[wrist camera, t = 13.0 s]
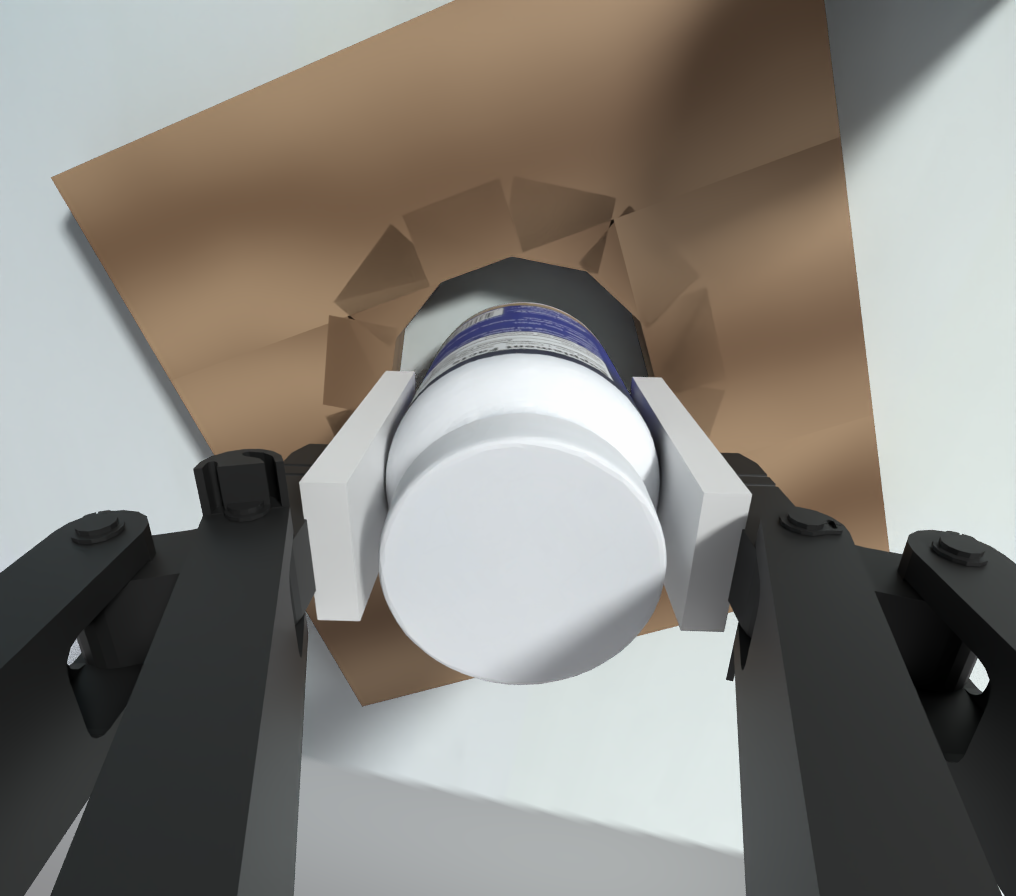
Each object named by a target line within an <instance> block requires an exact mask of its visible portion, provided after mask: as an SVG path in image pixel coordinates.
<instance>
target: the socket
mask: <svg viewBox="0 0 1016 896" xmlns="http://www.w3.org/2000/svg"><path fill="white" fill-rule="evenodd" d="M51 179H52V180H53V182H54V184H55V185H56V187H57V189H58V190H59V192H60V194H61V196H62V197H63V199H64V201H65V202H66V204H67V206H68V207H69V209H70V211H71V213H72V214H73V216H74V218H75V219H76V221H77V223H78V224H79V226H80V228H81V229H82V231H83V233H84V235H85V236H86V238H87V240H88V241H89V243H90V245H91V246H92V248H93V250H94V252H95V253H96V255H97V257H98V258H99V260H100V262H101V263H102V265H103V267H104V269H105V270H106V272H107V274H108V275H109V277H110V279H111V280H112V282H113V284H114V286H115V287H116V289H117V291H118V292H119V294H120V296H121V297H122V299H123V301H124V303H125V304H126V306H127V308H128V309H129V311H130V313H131V314H132V316H133V318H134V320H135V321H136V323H137V325H138V326H139V328H140V330H141V331H142V333H143V335H144V337H145V338H146V340H147V342H148V343H149V345H150V347H151V348H152V350H153V352H154V354H155V355H156V357H157V359H158V360H159V362H160V364H161V365H162V367H163V369H164V371H165V372H166V374H167V376H168V377H169V379H170V381H171V382H172V384H173V386H174V387H175V389H176V391H177V393H178V394H179V396H180V398H181V399H182V401H183V403H184V404H185V406H186V408H187V410H188V411H189V413H190V415H191V416H192V418H193V420H194V421H195V423H196V425H197V427H198V428H199V430H200V432H201V433H202V435H203V437H204V438H205V440H206V442H207V444H208V445H209V447H210V449H211V450H212V452H213V454H214V455H218V454H221V453H224V452H228V451H234V450H241V449H265V450H271V451H274V452H276V453H278V454H280V455H282V458H283V461H284V460H285V459H286V458H287V457H288V456H289V455H290V454H291V453H292V452H294V451H296V450H298V449H300V448H302V447H304V446H306V445H308V444H329V443H330V442H331V441H332V440H333V438H334V437H335V436H336V434H337V433H338V432H339V431H340V429H341V428H342V427H343V425H344V424H345V423H346V422H347V420H348V419H349V418H350V416H351V415H352V414H353V413H354V411H355V410H356V409H357V407H358V406H359V405H360V404H361V402H362V401H363V400H364V398H365V397H366V396H367V395H368V393H369V392H370V391H371V389H372V388H373V387H374V386H375V384H376V383H377V382H378V380H379V379H380V378H381V377H382V375H383V374H384V373H385V372H386V371H400V366H401V358H402V350H403V341H404V333H405V328H406V327H407V326H408V324H409V323H410V322H411V320H412V319H413V318H414V317H415V315H416V314H417V313H418V312H419V310H420V309H421V308H422V307H423V305H424V304H425V303H426V302H427V300H428V299H429V298H430V297H431V295H432V294H433V293H434V291H435V290H436V289H437V288H438V286H439V285H440V284H441V283H442V282H443V281H446V280H448V279H451V278H454V277H457V276H459V275H462V274H465V273H468V272H470V271H473V270H476V269H479V268H481V267H484V266H487V265H490V264H492V263H495V262H498V261H501V260H503V259H506V258H509V257H517V258H522V259H527V260H532V261H537V262H542V263H547V264H552V265H557V266H562V267H567V268H572V269H577V270H582V271H587V272H588V273H589V274H590V275H591V276H592V277H593V278H594V279H595V280H596V281H597V282H599V283H600V284H601V285H602V286H603V287H604V288H605V289H606V290H607V291H608V292H609V293H610V294H611V295H612V296H613V297H615V298H616V299H617V300H618V301H619V302H620V303H621V304H622V305H623V306H624V307H625V308H626V309H627V310H628V311H629V312H631V313H632V316H633V320H634V324H635V328H636V332H637V335H638V339H639V343H640V347H641V350H642V354H643V358H644V362H645V365H646V369H647V373H648V377H660V378H662V379H663V380H664V381H665V383H666V384H667V385H668V387H669V388H670V389H671V390H672V392H673V393H674V394H675V396H676V397H677V398H678V399H679V401H680V402H681V403H682V405H683V406H684V407H685V408H686V410H687V411H688V412H689V414H690V415H691V416H692V418H693V419H694V420H695V421H696V423H697V424H698V425H699V427H700V428H701V429H702V430H703V432H704V433H705V434H706V436H707V437H708V438H709V439H710V441H711V442H712V443H713V445H714V446H715V447H716V448H717V450H718V451H719V452H720V453H740V454H741V455H743V456H745V457H747V458H749V459H750V460H752V461H754V462H756V463H757V464H758V465H759V466H760V467H761V468H762V469H763V470H764V472H765V473H766V474H767V477H770V478H771V479H772V481H773V482H774V483H775V484H776V487H779V488H780V490H781V491H782V492H783V493H784V494H785V495H786V496H787V497H788V499H789V500H790V501H791V502H792V503H793V504H794V505H795V506H796V507H802V508H806V509H811V510H815V511H818V512H820V513H823V514H825V515H828V516H830V517H832V518H834V519H835V520H837V521H839V522H840V523H842V524H843V525H844V526H845V527H846V529H847V530H848V531H849V532H850V534H851V537H852V539H853V541H854V544H855V545H858V546H862V547H866V548H871V549H877V550H882V551H887V552H889V544H888V536H887V527H886V519H885V510H884V502H883V493H882V485H881V476H880V468H879V459H878V451H877V443H876V434H875V426H874V417H873V409H872V400H871V392H870V383H869V375H868V366H867V358H866V349H865V341H864V333H863V324H862V316H861V307H860V299H859V290H858V282H857V273H856V265H855V256H854V248H853V239H852V231H851V222H850V214H849V206H848V197H847V189H846V180H845V172H844V163H843V155H842V146H841V138H840V129H839V121H838V112H837V104H836V96H835V87H834V79H833V70H832V62H831V53H830V45H829V36H828V28H827V19H826V11H825V2H824V0H455V1H452V2H450V3H448V4H445V5H443V6H441V7H439V8H436V9H434V10H432V11H429V12H427V13H425V14H423V15H420V16H418V17H416V18H414V19H411V20H409V21H407V22H404V23H402V24H400V25H398V26H395V27H393V28H391V29H388V30H386V31H384V32H382V33H379V34H377V35H375V36H372V37H370V38H368V39H366V40H363V41H361V42H359V43H357V44H354V45H352V46H350V47H347V48H345V49H343V50H341V51H338V52H336V53H334V54H331V55H329V56H327V57H325V58H322V59H320V60H318V61H315V62H313V63H311V64H309V65H306V66H304V67H302V68H300V69H297V70H295V71H293V72H290V73H288V74H286V75H284V76H281V77H279V78H277V79H274V80H272V81H270V82H268V83H265V84H263V85H261V86H258V87H256V88H254V89H252V90H249V91H247V92H245V93H243V94H240V95H238V96H236V97H233V98H231V99H229V100H227V101H224V102H222V103H220V104H217V105H215V106H213V107H211V108H208V109H206V110H204V111H201V112H199V113H197V114H195V115H192V116H190V117H188V118H186V119H183V120H181V121H179V122H176V123H174V124H172V125H170V126H167V127H165V128H163V129H160V130H158V131H156V132H154V133H151V134H149V135H147V136H144V137H142V138H140V139H138V140H135V141H133V142H131V143H129V144H126V145H124V146H122V147H119V148H117V149H115V150H113V151H110V152H108V153H106V154H103V155H101V156H99V157H97V158H94V159H92V160H90V161H87V162H85V163H83V164H81V165H78V166H76V167H74V168H72V169H69V170H67V171H65V172H62V173H60V174H58V175H56V176H53V177H51ZM306 612H307V613H308V615H309V617H310V619H311V620H312V622H313V624H314V625H315V627H316V629H317V630H318V632H319V634H320V636H321V637H322V639H323V641H324V642H325V644H326V646H327V647H328V649H329V651H330V653H331V654H332V656H333V658H334V659H335V661H336V663H337V664H338V666H339V668H340V670H341V671H342V673H343V675H344V676H345V678H346V680H347V681H348V683H349V685H350V686H351V688H352V690H353V692H354V693H355V695H356V697H357V698H358V700H359V702H360V703H361V705H362V706H366V705H370V704H374V703H378V702H382V701H386V700H389V699H393V698H397V697H401V696H405V695H409V694H413V693H417V692H421V691H425V690H429V689H432V688H436V687H440V686H444V685H448V684H452V683H456V682H460V681H464V680H468V679H472V678H474V677H471V676H468V675H465V674H462V673H460V672H458V671H456V670H453V669H451V668H449V667H447V666H445V665H443V664H441V663H440V662H438V661H436V660H435V659H434V658H432V657H431V656H429V655H428V654H427V653H425V652H424V651H423V650H422V649H420V648H419V647H418V646H417V645H416V644H415V643H414V642H413V641H412V640H411V639H410V638H409V637H408V636H407V635H406V634H405V633H404V631H403V630H402V628H401V627H400V626H399V624H398V623H397V621H396V619H395V618H394V616H393V615H392V613H391V611H390V609H389V607H388V604H387V602H386V600H385V597H384V594H383V591H382V587H381V583H380V578H379V573H378V575H377V578H376V581H375V583H374V586H373V588H372V591H371V594H370V596H369V599H368V602H367V604H366V607H365V610H364V612H363V615H362V617H361V620H360V621H336V620H318V619H317V612H316V604H315V597H314V596H313V597H312V599H311V601H310V603H309V605H308V607H307V609H306ZM730 612H734V611H733V609H732V608H731V606H730V605H729V610H728V613H730ZM675 626H679V624H678V621H677V619H676V616H675V613H674V611H673V608H672V605H671V602H670V600H669V597H668V594H667V591H666V589H665V586H664V585H663V589H662V592H661V596H660V599H659V601H658V603H657V605H656V608H655V611H654V613H653V614H652V616H651V618H650V619H649V621H648V623H647V624H646V625H645V627H644V628H643V629H642V630H641V632H640V633H639V634H638V635H637V636H640V635H644V634H648V633H651V632H655V631H659V630H663V629H667V628H671V627H675Z"/></svg>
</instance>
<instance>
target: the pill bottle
mask: <svg viewBox="0 0 1016 896" xmlns="http://www.w3.org/2000/svg"><path fill="white" fill-rule="evenodd" d="M659 491H660V471H659V463H658V458H657V453H656V449H655V446H654V442H653V439H652V436H651V434H650V431H649V428H648V426H647V424H646V422H645V421H644V419H643V417H642V416H641V414H640V412H639V410H638V408H637V406H636V405H635V403H634V401H633V399H632V398H631V396H630V394H629V392H628V391H627V389H626V387H625V385H624V383H623V381H622V380H621V378H620V376H619V374H618V373H617V371H616V369H615V367H614V365H613V363H612V362H611V360H610V358H609V357H608V355H607V353H606V351H605V349H604V348H603V346H602V345H601V343H600V342H599V340H598V339H597V338H596V337H595V335H594V334H593V333H592V332H591V331H590V330H589V329H588V328H587V327H586V326H585V325H584V324H583V323H581V322H580V321H579V320H577V319H576V318H574V317H573V316H571V315H569V314H568V313H566V312H564V311H561V310H559V309H557V308H554V307H551V306H548V305H544V304H539V303H530V302H515V303H506V304H501V305H497V306H493V307H490V308H488V309H485V310H483V311H481V312H479V313H477V314H475V315H473V316H472V317H470V318H469V319H467V320H466V321H465V322H463V323H462V324H461V325H460V326H459V327H458V328H457V329H456V330H455V331H454V332H453V333H452V334H451V335H450V336H449V337H448V338H447V340H446V341H445V342H444V343H443V345H442V347H441V348H440V350H439V351H438V353H437V355H436V357H435V359H434V361H433V362H432V364H431V366H430V368H429V370H428V372H427V374H426V376H425V378H424V380H423V382H422V384H421V385H420V387H419V389H418V390H417V392H416V394H415V396H414V398H413V400H412V402H411V404H410V405H409V407H408V409H407V411H406V412H405V414H404V416H403V418H402V420H401V422H400V423H399V426H398V428H397V430H396V433H395V435H394V438H393V441H392V444H391V448H390V451H389V456H388V461H387V468H386V496H387V502H388V508H389V511H388V514H387V517H386V520H385V522H384V526H383V529H382V532H381V537H380V541H379V551H378V568H379V578H380V583H381V587H382V591H383V594H384V597H385V600H386V602H387V604H388V607H389V609H390V611H391V613H392V615H393V616H394V618H395V619H396V621H397V623H398V624H399V626H400V627H401V628H402V630H403V631H404V633H405V634H406V635H407V636H408V637H409V638H410V639H411V640H412V641H413V642H414V643H415V644H416V645H417V646H418V647H419V648H420V649H422V650H423V651H424V652H425V653H427V654H428V655H429V656H431V657H432V658H434V659H435V660H436V661H438V662H440V663H441V664H443V665H445V666H447V667H449V668H451V669H453V670H456V671H458V672H460V673H462V674H465V675H468V676H471V677H474V678H478V679H481V680H485V681H489V682H494V683H502V684H513V685H527V684H542V683H548V682H553V681H559V680H563V679H566V678H570V677H574V676H577V675H580V674H582V673H585V672H587V671H589V670H592V669H594V668H595V667H597V666H599V665H601V664H603V663H604V662H606V661H607V660H609V659H611V658H612V657H614V656H615V655H616V654H618V653H619V652H621V651H622V650H623V649H624V648H625V647H626V646H628V645H629V644H630V643H631V642H632V641H633V639H634V638H635V637H636V636H637V635H638V634H639V633H640V632H641V630H642V629H643V628H644V627H645V625H646V624H647V623H648V621H649V619H650V618H651V616H652V614H653V613H654V611H655V608H656V605H657V603H658V601H659V599H660V596H661V592H662V589H663V585H664V580H665V574H666V565H667V563H666V546H665V539H664V535H663V531H662V527H661V524H660V521H659V519H658V516H657V513H656V511H657V507H658V501H659Z"/></svg>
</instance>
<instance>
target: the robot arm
mask: <svg viewBox="0 0 1016 896" xmlns="http://www.w3.org/2000/svg"><path fill="white" fill-rule="evenodd" d="M415 394H416V386H415V371H386V372H385V373H384V374H383V375H382V377H381V378H380V379H379V380H378V382H377V383H376V384H375V386H374V387H373V388H372V389H371V391H370V392H369V393H368V395H367V396H366V397H365V398H364V400H363V401H362V402H361V404H360V405H359V406H358V407H357V409H356V410H355V411H354V413H353V414H352V415H351V416H350V418H349V419H348V420H347V422H346V423H345V424H344V425H343V427H342V428H341V429H340V431H339V432H338V433H337V434H336V436H335V437H334V438H333V440H332V441H331V442H330V443H329V444H308V445H306V446H304V447H302V448H300V449H298V450H296V451H294V452H292V453H291V454H290V455H289V456H288V457H287V458H286V459H285V460H284V461H283V458H282V455H280V454H278V453H276V452H274V451H271V450H265V449H241V450H234V451H228V452H224V453H221V454H218V455H214V456H211V457H209V458H207V459H205V460H203V461H201V462H200V463H199V464H198V465H197V466H196V467H195V468H194V469H193V470H194V475H195V480H196V484H197V489H198V494H199V499H200V503H201V508H202V513H203V517H202V520H201V522H200V524H199V527H198V529H194V530H188V531H181V532H174V533H167V534H160V535H151V531H150V527H149V523H148V519H147V516H145V515H143V514H141V513H139V512H135V511H126V510H120V511H110V510H106V511H100V512H98V514H96V512H95V513H92V514H88V515H85V516H83V518H80V519H78V520H75V521H73V522H70V523H68V524H66V525H64V526H63V527H61V528H59V529H58V530H56V531H54V532H53V533H52V534H50V535H49V536H48V537H47V538H45V539H44V540H43V541H41V542H40V543H39V544H37V545H36V546H35V547H34V548H32V549H31V550H30V551H28V552H27V553H26V554H24V555H23V556H22V557H20V558H19V559H18V560H17V561H15V562H14V563H13V564H11V565H10V566H9V567H7V568H6V569H5V570H4V571H2V572H1V573H0V896H24V895H25V893H26V892H27V890H28V889H29V887H30V886H31V884H32V883H33V881H34V880H35V878H36V877H37V875H38V874H39V872H40V871H41V869H42V868H43V866H44V865H45V863H46V862H47V860H48V859H49V857H50V856H51V854H52V853H53V851H54V850H55V848H56V846H57V845H58V844H59V842H60V841H61V839H62V838H63V836H64V835H65V833H66V832H67V830H68V829H69V827H70V826H71V824H72V823H73V821H74V820H75V818H76V817H77V815H78V814H79V812H80V811H81V809H82V808H83V806H84V805H85V803H86V802H87V800H88V799H89V801H88V803H87V806H86V808H85V811H84V813H83V816H82V818H81V821H80V823H79V826H78V828H77V831H76V833H75V836H74V838H73V841H72V843H71V846H70V848H69V851H68V853H67V856H66V858H65V860H64V863H63V866H62V868H61V870H60V873H59V875H58V878H57V880H56V883H55V885H54V888H53V890H52V893H51V896H294V880H295V862H296V842H297V824H298V806H299V789H300V771H301V753H302V735H303V717H304V699H305V681H306V663H307V644H308V629H307V622H306V615H305V611H306V609H307V607H308V605H309V603H310V601H311V599H312V597H313V596H314V597H315V604H316V612H317V619H318V620H336V621H360V620H361V617H362V615H363V612H364V610H365V607H366V604H367V602H368V599H369V596H370V594H371V591H372V588H373V586H374V583H375V581H376V578H377V575H378V573H379V568H378V551H379V541H380V537H381V532H382V529H383V526H384V522H385V520H386V517H387V514H388V511H389V508H388V502H387V496H386V468H387V461H388V456H389V451H390V448H391V444H392V441H393V438H394V435H395V433H396V430H397V428H398V426H399V423H400V422H401V420H402V418H403V416H404V414H405V412H406V411H407V409H408V407H409V405H410V404H411V402H412V400H413V398H414V396H415ZM630 396H631V398H632V399H633V401H634V403H635V405H636V406H637V408H638V410H639V412H640V414H641V416H642V417H643V419H644V421H645V422H646V424H647V426H648V428H649V431H650V434H651V436H652V439H653V442H654V446H655V449H656V453H657V458H658V463H659V471H660V491H659V501H658V507H657V511H656V513H657V516H658V519H659V521H660V524H661V527H662V531H663V535H664V539H665V546H666V563H667V565H666V574H665V580H664V586H665V589H666V591H667V594H668V597H669V600H670V602H671V605H672V608H673V611H674V613H675V616H676V619H677V621H678V624H679V627H680V630H681V631H711V632H724V629H725V624H726V620H727V615H728V610H729V605H730V606H731V608H732V609H733V611H734V613H735V615H736V617H737V619H738V621H739V622H738V627H737V631H736V636H735V641H734V645H733V650H732V654H731V659H730V664H729V668H728V673H727V678H726V680H729V681H733V679H734V676H735V685H736V704H737V724H738V744H739V764H740V784H741V804H742V824H743V844H744V863H745V883H746V896H1002V895H1001V892H1000V890H999V888H1000V889H1001V891H1002V892H1003V894H1004V895H1005V896H1016V564H1015V563H1014V562H1013V561H1011V560H1010V559H1009V558H1008V557H1006V556H1005V555H1004V554H1002V553H1000V552H999V551H997V550H996V549H994V548H992V547H991V546H989V545H986V544H984V543H982V542H979V541H977V540H976V539H975V538H973V537H971V536H968V535H964V534H962V535H959V533H957V532H952V531H946V532H944V531H936V530H923V531H916V532H914V533H912V534H910V535H909V537H908V540H907V543H906V546H905V549H904V552H903V554H898V553H892V552H887V551H882V550H877V549H871V548H866V547H862V546H858V545H855V544H854V541H853V539H852V537H851V534H850V532H849V531H848V530H847V529H846V527H845V526H844V525H843V524H842V523H840V522H839V521H837V520H835V519H834V518H832V517H830V516H828V515H825V514H823V513H820V512H818V511H815V510H811V509H806V508H802V507H796V506H795V505H794V504H793V503H792V502H791V501H790V500H789V499H788V497H787V496H786V495H785V494H784V493H783V492H782V491H781V490H780V488H779V487H776V484H775V483H774V482H773V481H772V479H771V478H770V477H767V474H766V473H765V472H764V470H763V469H762V468H761V467H760V466H759V465H758V464H757V463H756V462H754V461H752V460H750V459H749V458H747V457H745V456H743V455H741V454H740V453H720V452H719V451H718V450H717V448H716V447H715V446H714V445H713V443H712V442H711V441H710V439H709V438H708V437H707V436H706V434H705V433H704V432H703V430H702V429H701V428H700V427H699V425H698V424H697V423H696V421H695V420H694V419H693V418H692V416H691V415H690V414H689V412H688V411H687V410H686V408H685V407H684V406H683V405H682V403H681V402H680V401H679V399H678V398H677V397H676V396H675V394H674V393H673V392H672V390H671V389H670V388H669V387H668V385H667V384H666V383H665V381H664V380H663V379H662V378H660V377H632V385H631V395H630ZM76 638H77V641H78V643H79V646H80V649H81V652H82V653H81V654H80V656H79V657H78V658H77V659H76V660H75V661H74V662H73V663H72V664H71V665H70V666H69V665H68V664H67V660H68V656H69V652H70V648H71V646H72V645H73V643H74V641H75V640H76ZM977 658H978V659H979V660H980V661H981V663H982V664H983V666H984V667H985V669H986V671H987V674H988V677H989V679H990V681H989V683H988V685H987V687H986V689H985V690H984V691H983V693H982V692H981V691H980V690H979V689H978V688H977V687H976V686H975V685H974V684H973V682H972V681H971V680H970V679H969V677H970V674H971V672H972V670H973V667H974V665H975V663H976V660H977ZM89 797H90V798H89ZM998 886H999V887H998Z"/></svg>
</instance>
